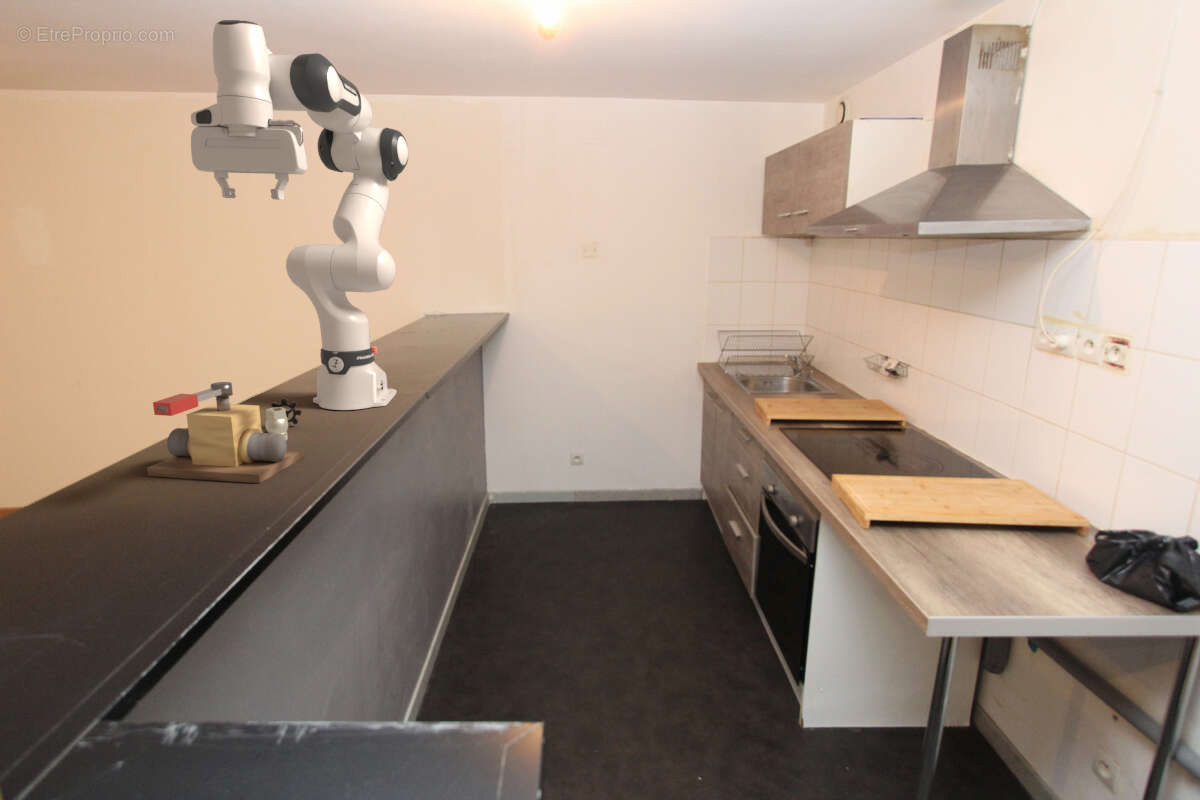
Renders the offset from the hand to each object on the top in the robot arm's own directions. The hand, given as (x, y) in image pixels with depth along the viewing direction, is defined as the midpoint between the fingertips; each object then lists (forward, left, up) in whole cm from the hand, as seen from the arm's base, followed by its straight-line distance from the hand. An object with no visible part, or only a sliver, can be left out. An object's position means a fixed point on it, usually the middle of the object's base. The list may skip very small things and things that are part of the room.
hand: (253, 198), depth 119 cm
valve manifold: (+15, 0, -47) cm, 50 cm away
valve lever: (+21, 0, -34) cm, 40 cm away
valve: (-5, -2, -48) cm, 48 cm away
